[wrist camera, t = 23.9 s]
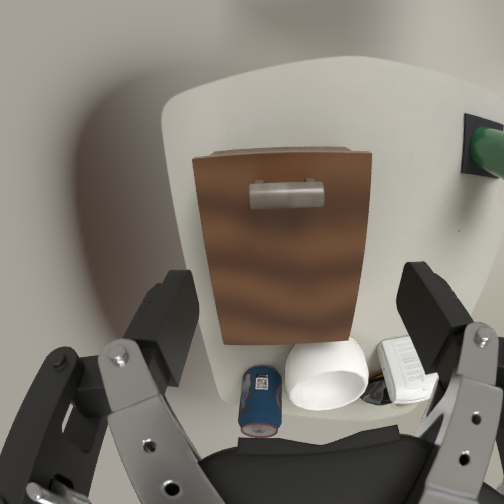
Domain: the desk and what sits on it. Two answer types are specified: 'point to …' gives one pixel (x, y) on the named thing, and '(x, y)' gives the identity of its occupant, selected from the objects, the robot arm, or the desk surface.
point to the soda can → (260, 402)
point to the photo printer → (404, 371)
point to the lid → (284, 242)
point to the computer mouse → (376, 392)
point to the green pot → (488, 150)
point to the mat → (469, 129)
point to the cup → (325, 374)
